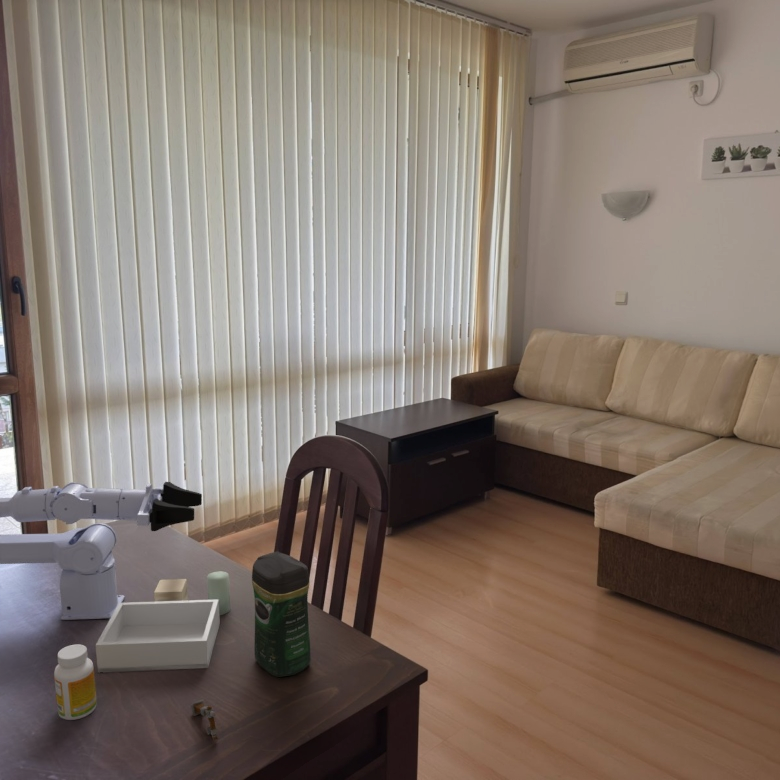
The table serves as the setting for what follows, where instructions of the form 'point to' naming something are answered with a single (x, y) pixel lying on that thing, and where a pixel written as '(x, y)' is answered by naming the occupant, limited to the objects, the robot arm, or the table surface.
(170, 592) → the maple cube
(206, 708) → the wooden post with brackets
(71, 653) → the supplement bottle
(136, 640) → the tote
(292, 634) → the coffee jar
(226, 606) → the sage cylinder
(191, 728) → the table surface
